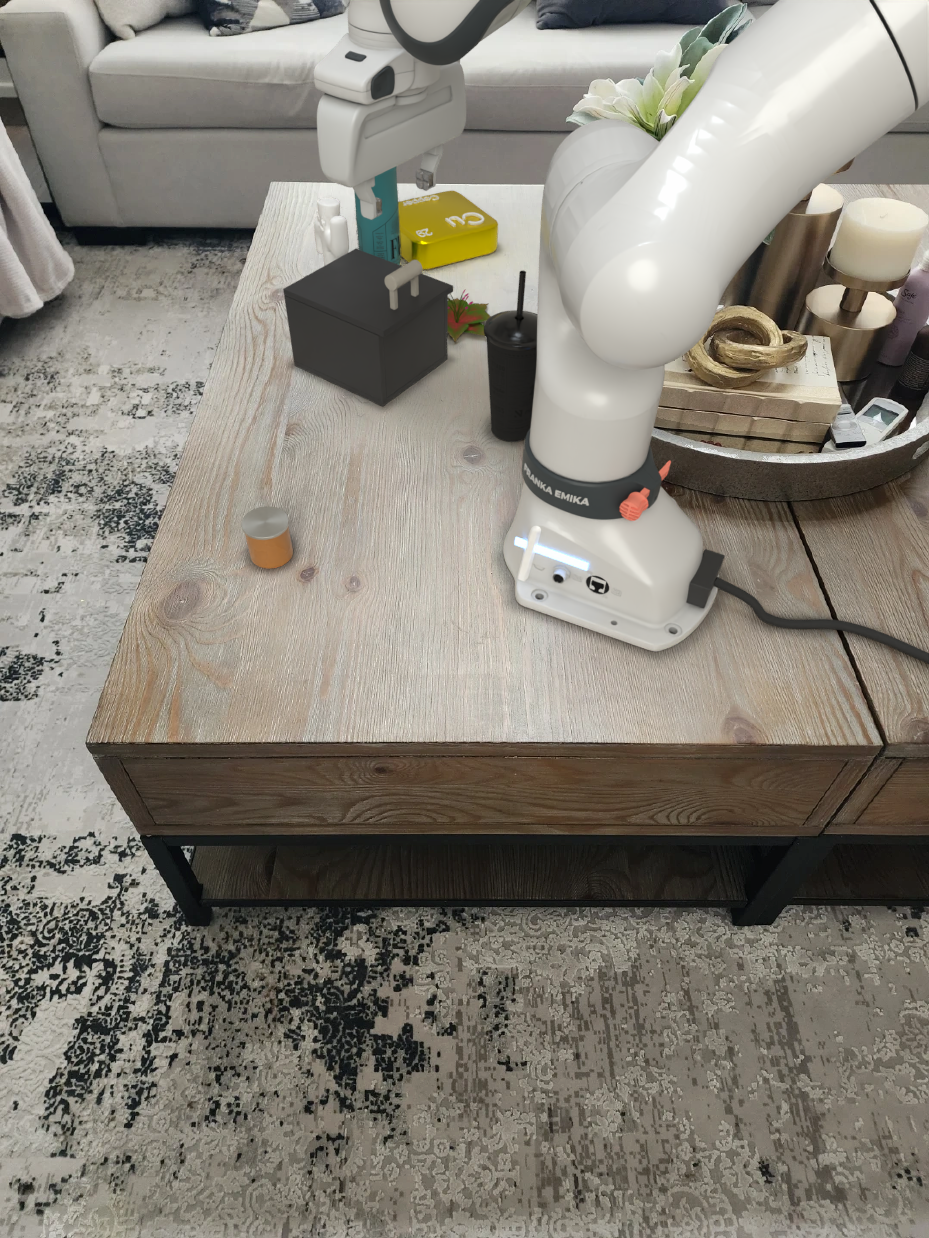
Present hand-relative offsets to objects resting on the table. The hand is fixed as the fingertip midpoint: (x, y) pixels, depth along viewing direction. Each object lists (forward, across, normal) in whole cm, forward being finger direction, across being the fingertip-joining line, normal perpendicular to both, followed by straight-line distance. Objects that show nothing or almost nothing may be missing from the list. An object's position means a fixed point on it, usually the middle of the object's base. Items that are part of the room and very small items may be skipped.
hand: (399, 201), depth 93 cm
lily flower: (+23, -15, -3) cm, 28 cm away
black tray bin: (+22, 0, -6) cm, 23 cm away
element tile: (+23, -33, -20) cm, 45 cm away
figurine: (+23, -8, -19) cm, 31 cm away
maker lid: (+13, 0, -6) cm, 14 cm away
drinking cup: (+23, 0, +17) cm, 28 cm away
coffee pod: (+23, +34, +9) cm, 42 cm away
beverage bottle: (+23, -20, -21) cm, 37 cm away
